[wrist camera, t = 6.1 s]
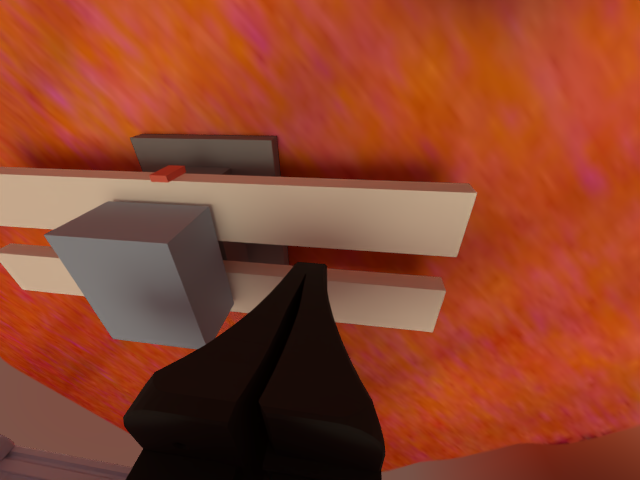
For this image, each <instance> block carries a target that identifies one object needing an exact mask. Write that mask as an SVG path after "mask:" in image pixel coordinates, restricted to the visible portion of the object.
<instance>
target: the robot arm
mask: <svg viewBox="0 0 640 480" xmlns="http://www.w3.org/2000/svg"><path fill="white" fill-rule="evenodd" d="M123 420H124V426H125V428H126V429H127V431H128V432H129V433H130V434H131V435H132V436H133V437H134V439H135V440H136V441H137V442H138V443H139V444H140V445H141V447H143V450H142V452H141V454H140V456H139V457H138V459H137V461H136V462H135V464H134V466H133V467H128V466H123V465H118V464H112V463H107V462H102V461H97V460H91V459H86V458H81V457H75V456H70V455H65V454H60V453H54V452H49V451H44V450H39V449H33V448H28V447H23V446H17V445H14V442H13V441H11V440H10V439H9V438H7V437H5V436H3V435H1V434H0V480H381V468H382V465H383V461H384V457H385V445H384V438H383V434H382V430H381V426H380V423H379V420H378V417H377V414H376V411H375V408H374V405H373V401H372V399H371V397H370V396H369V394H368V392H367V391H366V389H365V387H364V385H363V383H362V382H361V380H360V378H359V376H358V374H357V372H356V370H355V368H354V366H353V365H352V362H351V360H350V358H349V356H348V354H347V351H346V349H345V347H344V345H343V342H342V340H341V337H340V335H339V332H338V329H337V326H336V323H335V320H334V317H333V314H332V310H331V306H330V302H329V297H328V292H327V266H326V265H325V264H318V263H304V262H297V263H296V264H295V265H294V266H293V267H292V269H291V270H290V271H289V272H288V273H287V275H286V276H285V277H284V278H283V279H282V280H281V282H280V283H279V284H278V285H277V286H276V287H275V288H274V289H273V290H272V291H271V292H270V293H269V294H268V295H267V296H266V297H265V298H264V299H263V300H262V301H261V302H260V303H259V304H258V305H257V306H256V307H255V308H254V309H253V310H252V311H251V312H249V313H248V314H247V315H246V316H245V317H243V318H242V319H241V320H240V321H238V322H237V323H236V324H235V325H233V326H232V327H231V328H229V329H228V330H226V331H225V332H224V333H222V334H221V335H219V336H218V337H217V338H215V339H214V340H212V341H210V342H209V343H207V344H206V345H204V346H202V347H201V348H199V349H197V350H196V351H194V352H192V353H190V354H189V355H187V356H185V357H183V358H181V359H179V360H178V361H176V362H174V363H172V364H170V365H168V366H166V367H164V368H162V369H160V370H158V371H156V372H155V373H154V374H153V375H152V377H151V378H150V379H149V381H148V382H147V383H146V384H145V386H144V387H143V389H142V390H141V392H140V393H139V395H138V396H137V398H136V399H135V401H134V402H133V404H132V405H131V407H130V408H129V409H128V411H127V412H126V414H125V415H124V417H123Z"/></svg>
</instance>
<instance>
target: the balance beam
mask: <svg viewBox="0 0 640 480" xmlns="http://www.w3.org/2000/svg"><path fill="white" fill-rule="evenodd" d="M130 139H131V142H132V145H133V147H134V150H135V153H136V155H137V158H138V160H139V163H140V166H141V168H142V171H143V172H131V171H103V170H75V169H47V168H18V167H0V226H12V227H27V228H41V229H56V228H58V227H60V226H62V225H64V224H65V223H67V222H69V221H71V220H73V219H75V218H77V217H79V216H81V215H83V214H85V213H86V212H88V211H90V210H92V209H94V208H96V207H98V206H100V205H102V204H104V203H106V202H107V201H113V202H132V203H151V204H171V205H190V206H209V209H210V213H211V217H212V221H213V225H214V228H215V232H216V236H217V240H218V243H219V246H220V250H221V254H222V258H223V263H224V267H225V271H226V274H227V278H228V282H229V286H230V290H231V294H232V297H233V301H234V305H233V307H232V308H231V310H230V311H233V312H243V313H249V312H251V311H252V310H253V309H254V308H255V307H256V306H257V305H258V304H259V303H260V302H261V301H262V300H263V299H264V298H265V297H266V296H267V295H268V294H269V293H270V292H271V291H272V290H273V289H274V288H275V287H276V286H277V285H278V284H279V283H280V282H281V280H282V279H283V278H284V277H285V276H286V275H287V273H288V272H289V271H290V270H291V269H292V267H293V266H291V265H289V258H288V247H287V245H288V246H302V247H317V248H332V249H346V250H361V251H375V252H390V253H404V254H419V255H433V256H448V257H457V255H458V252H459V248H460V245H461V242H462V239H463V236H464V233H465V230H466V227H467V223H468V220H469V217H470V214H471V211H472V208H473V205H474V201H475V198H476V195H477V192H476V191H475V190H474V189H473V188H472V187H471V185H470V184H469V183H441V182H413V181H384V180H356V179H328V178H300V177H281V175H280V164H279V154H278V144H277V136H240V135H176V134H141V135H138V136H134V137H131V138H130ZM0 262H1V264H2V265H3V266H4V267H5V269H6V270H7V271H8V272H9V273H10V275H11V276H12V277H13V278H14V280H15V281H16V282H17V283H18V284H19V286H20V287H21V288H22V289H23V290H31V291H41V292H50V293H60V294H70V295H79V296H84V294H83V293H82V291H81V290H80V288H79V287H78V285H77V284H76V282H75V281H74V279H73V278H72V276H71V275H70V273H69V272H68V270H67V269H66V267H65V266H64V264H63V263H62V261H61V260H60V258H59V257H58V255H57V254H56V252H55V251H54V249H53V248H52V247H49V246H36V245H23V244H9V245H7V246H5V247H3V248H1V249H0ZM327 292H328V297H329V302H330V306H331V310H332V314H333V317H334V320H335V322H339V323H349V324H359V325H368V326H378V327H388V328H397V329H407V330H416V331H426V332H433V330H434V327H435V324H436V320H437V317H438V314H439V311H440V308H441V305H442V302H443V299H444V295H445V292H446V290H445V287H444V284H443V281H442V278H441V277H431V276H418V275H405V274H393V273H380V272H367V271H354V270H342V269H329V268H327Z"/></svg>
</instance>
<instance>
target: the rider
mask: <svg viewBox="0 0 640 480" xmlns="http://www.w3.org/2000/svg"><path fill="white" fill-rule="evenodd" d="M44 236H45V237H46V239H47V240H48V242H49V243H50V245H51V246H52V248H53V249H54V251H55V252H56V254H57V255H58V257H59V258H60V260H61V261H62V263H63V264H64V266H65V267H66V269H67V270H68V272H69V273H70V275H71V276H72V278H73V279H74V281H75V282H76V284H77V285H78V287H79V288H80V290H81V291H82V293H83V294H84V296H85V297H86V299H87V301H88V302H89V304H90V305H91V307H92V308H93V310H94V311H95V313H96V314H97V316H98V317H99V319H100V320H101V322H102V323H103V325H104V326H105V328H106V329H107V331H108V332H109V334H110V335H111V337H112V338H113V339H119V340H127V341H135V342H143V343H151V344H159V345H167V346H175V347H183V348H191V349H199V348H201V347H202V346H204V345H206V344H207V343H209V342H210V341H212V340H214V339H215V337H216V335H217V334H218V332H219V330H220V328H221V326H222V325H223V323H224V321H225V319H226V317H227V316H228V314H229V312H230V310H231V308H232V307H233V305H234V301H233V297H232V294H231V290H230V286H229V282H228V278H227V274H226V271H225V267H224V263H223V258H222V254H221V250H220V246H219V243H218V240H217V236H216V232H215V228H214V225H213V221H212V217H211V213H210V209H209V206H190V205H171V204H151V203H132V202H113V201H107V202H106V203H104V204H102V205H100V206H98V207H96V208H94V209H92V210H90V211H88V212H86V213H85V214H83V215H81V216H79V217H77V218H75V219H73V220H71V221H69V222H67V223H65V224H64V225H62V226H60V227H58V228H56V229H54V230H52V231H50V232H48V233H46V234H44Z"/></svg>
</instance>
